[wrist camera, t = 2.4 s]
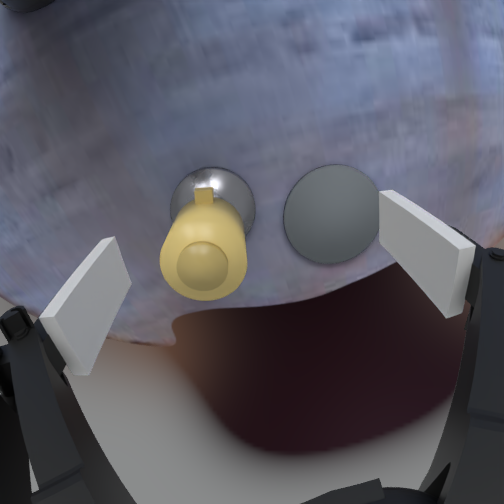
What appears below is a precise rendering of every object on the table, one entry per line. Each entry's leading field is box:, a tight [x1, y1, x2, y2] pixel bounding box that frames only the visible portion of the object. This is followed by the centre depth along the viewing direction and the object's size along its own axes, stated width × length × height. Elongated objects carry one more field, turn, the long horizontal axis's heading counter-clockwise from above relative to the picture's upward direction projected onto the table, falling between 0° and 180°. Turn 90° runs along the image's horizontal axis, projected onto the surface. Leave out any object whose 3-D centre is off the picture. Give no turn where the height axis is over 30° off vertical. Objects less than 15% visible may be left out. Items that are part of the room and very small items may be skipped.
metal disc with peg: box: [170, 167, 255, 236], centre depth 34 cm, size 10×10×7 cm
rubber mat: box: [283, 165, 379, 264], centre depth 38 cm, size 13×13×1 cm
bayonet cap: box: [160, 187, 247, 301], centre depth 28 cm, size 7×9×8 cm
